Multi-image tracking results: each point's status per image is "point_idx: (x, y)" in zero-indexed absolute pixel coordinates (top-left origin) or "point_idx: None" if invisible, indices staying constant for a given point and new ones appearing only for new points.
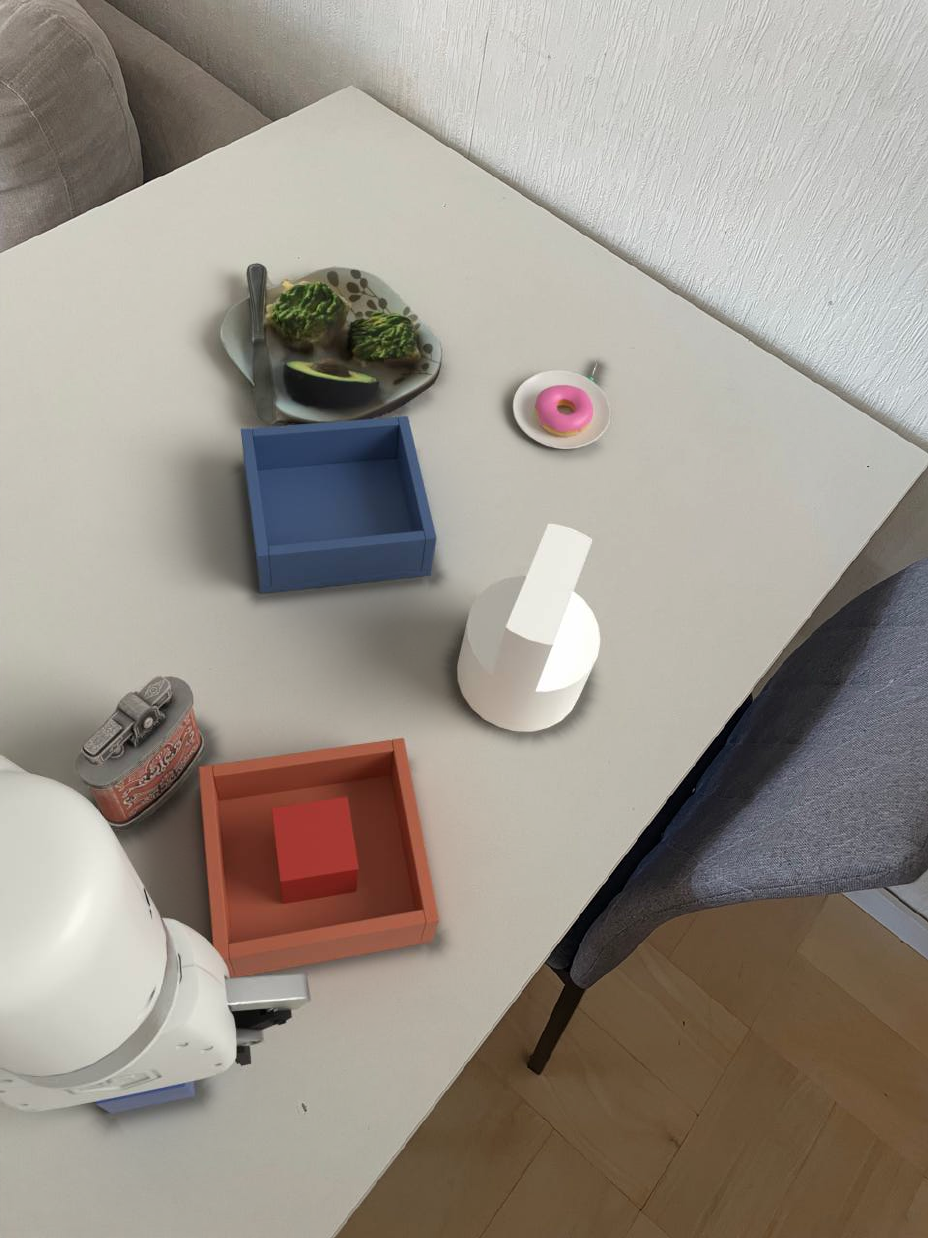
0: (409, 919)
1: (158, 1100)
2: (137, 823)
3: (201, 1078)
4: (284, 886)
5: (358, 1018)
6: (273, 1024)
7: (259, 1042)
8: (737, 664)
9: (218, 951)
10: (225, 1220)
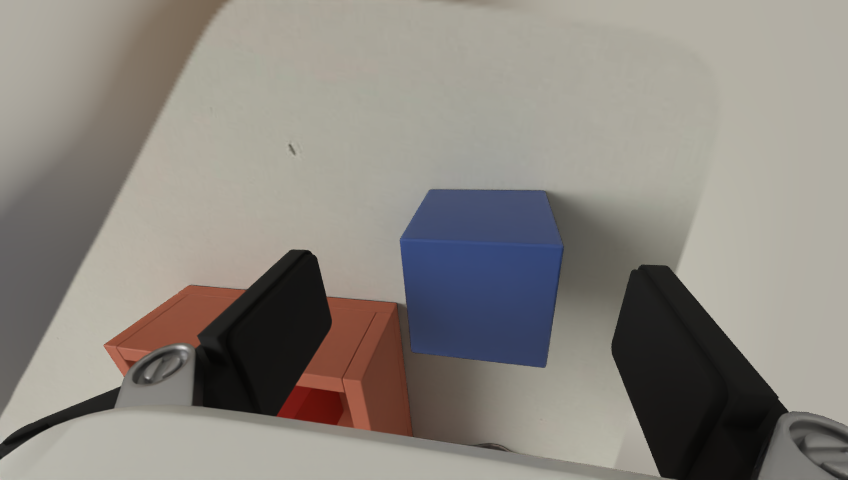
0: (134, 355)
1: (469, 202)
2: (480, 446)
3: (139, 417)
4: (291, 415)
5: (246, 233)
6: (103, 398)
7: (161, 350)
8: (27, 401)
9: (356, 390)
10: (386, 6)
